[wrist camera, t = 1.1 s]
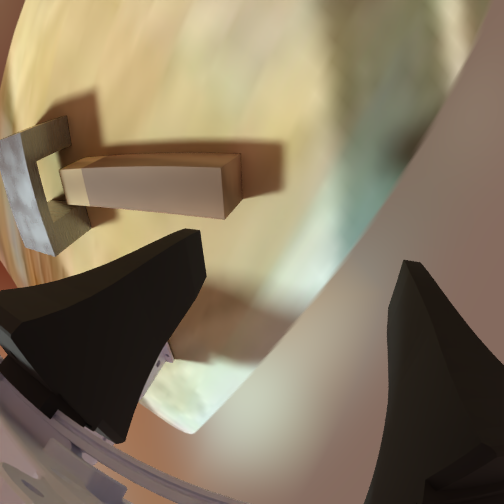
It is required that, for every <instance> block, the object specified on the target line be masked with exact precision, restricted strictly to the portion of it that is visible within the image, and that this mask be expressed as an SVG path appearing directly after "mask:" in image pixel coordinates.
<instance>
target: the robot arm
mask: <svg viewBox="0 0 504 504" xmlns="http://www.w3.org/2000/svg"><path fill="white" fill-rule="evenodd" d="M205 279H206V269H205V262H204V255H203V248H202V241H201V234H200V230H194V229H186V228H185V229H182V230H179V231H177V232H174V233H172V234H170V235H167V236H165V237H163V238H161V239H159V240H157V241H155V242H153V243H150V244H148V245H146V246H144V247H142V248H140V249H138V250H136V251H134V252H132V253H129V254H127V255H125V256H123V257H121V258H118V259H116V260H114V261H112V262H110V263H107V264H105V265H102V266H100V267H97V268H94V269H92V270H89V271H86V272H84V273H81V274H77V275H74V276H71V277H67V278H64V279H61V280H57V281H53V282H49V283H45V284H40V285H35V286H30V287H24V288H16V289H8V290H1V291H0V345H1V346H2V348H3V349H4V350H5V352H6V353H7V354H8V355H7V357H6V358H5V359H3V358H2V357H1V356H0V504H133V503H131V502H129V501H127V500H126V499H124V498H123V496H124V494H125V493H126V491H127V487H126V486H124V485H122V484H121V483H119V482H118V481H116V480H114V479H113V478H111V477H109V476H108V475H106V474H105V473H103V472H101V471H100V470H98V469H96V468H95V467H93V465H95V464H96V463H97V461H99V462H100V463H102V464H104V465H105V466H107V467H109V468H110V469H112V470H113V471H115V472H117V473H118V474H120V475H122V476H124V477H125V478H127V479H129V480H131V481H133V482H134V483H136V484H138V485H140V486H142V487H144V488H146V489H148V490H150V491H152V492H154V493H156V494H158V495H160V496H162V497H165V498H167V499H169V500H171V501H173V502H176V503H178V504H250V503H247V502H243V501H240V500H236V499H233V498H230V497H227V496H223V495H220V494H217V493H214V492H211V491H209V490H206V489H203V488H200V487H198V486H195V485H192V484H190V483H187V482H185V481H182V480H180V479H178V478H175V477H173V476H171V475H168V474H166V473H164V472H162V471H160V470H157V469H155V468H153V467H151V466H149V465H147V464H145V463H143V462H141V461H139V460H137V459H135V458H133V457H132V456H130V455H128V454H126V453H124V452H122V451H121V450H119V449H117V448H115V447H114V446H113V445H114V444H119V443H123V442H124V441H125V440H126V436H127V433H128V430H129V427H130V423H131V420H132V417H133V414H134V411H135V409H136V406H137V403H138V401H139V400H140V399H141V398H142V397H143V396H144V395H145V393H146V392H147V390H148V388H149V387H150V385H151V384H152V382H153V381H154V379H155V377H156V376H157V374H158V373H159V371H160V370H161V368H162V366H163V365H164V363H165V362H166V361H167V362H170V363H173V361H174V358H173V355H172V353H171V350H170V347H169V344H168V340H169V338H170V337H171V335H172V334H173V332H174V331H175V329H176V328H177V326H178V325H179V323H180V322H181V320H182V319H183V317H184V316H185V314H186V313H187V311H188V310H189V308H190V307H191V305H192V304H193V302H194V301H195V299H196V297H197V295H198V293H199V291H200V289H201V287H202V285H203V283H204V281H205ZM387 345H388V378H389V391H388V405H387V413H386V419H385V426H384V432H383V437H382V442H381V447H380V451H379V456H378V460H377V464H376V467H375V471H374V475H373V478H372V482H371V485H370V487H369V491H368V493H367V496H366V499H365V502H364V504H504V365H503V364H502V363H501V362H500V361H499V360H498V359H497V358H496V357H495V356H494V355H493V354H492V352H491V351H490V350H489V349H488V348H487V347H486V346H485V345H484V343H482V341H481V340H480V339H479V338H478V337H477V335H476V334H475V333H474V332H473V331H472V329H471V328H470V327H469V326H468V324H467V323H466V322H465V321H464V319H463V318H462V317H461V316H460V314H459V313H458V312H457V310H456V309H455V308H454V306H453V305H452V304H451V302H450V301H449V300H448V298H447V297H446V296H445V294H444V293H443V291H442V290H441V289H440V288H439V286H438V285H437V283H436V282H435V281H434V279H433V278H432V277H431V275H430V274H429V272H428V271H427V270H426V269H425V267H424V266H423V265H422V264H421V263H420V262H414V261H408V260H403V263H402V267H401V270H400V273H399V276H398V280H397V283H396V286H395V289H394V292H393V295H392V298H391V301H390V304H389V307H388V324H387Z"/></svg>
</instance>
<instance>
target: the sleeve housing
mask: <svg viewBox="0 0 504 504" xmlns="http://www.w3.org/2000/svg"><path fill="white" fill-rule="evenodd" d="M69 146H71V140H70V134H69V128H68V122H67V116H63V117H60V118H57V119H53V120H50V121H47V122H44V123H41V124H38V125H35V126H32V127H30V128H27V129H25V130H22V131H20V132H17V133H15V134H13V135H10V136H8V137H6V138H3V139H1V140H0V171H1V175H2V179H3V182H4V186H5V189H6V193H7V196H8V200H9V203H10V206H11V209H12V212H13V215H14V218H15V221H16V224H17V227H18V229H19V232H20V235H21V237H22V240H23V243H24V245H25V247H26V248H29V249H32V250H36V251H39V252H42V253H45V254H48V255H52V256H55V257H56V256H57V255H58V254H59V253H61V252H62V251H63V250H64V249H66V248H67V247H68V246H69V245H71V244H72V243H73V242H74V241H76V240H77V239H78V238H80V237H81V236H82V235H83V234H85V233H86V232H87V231H89V230H90V229H91V225H90V221H89V218H88V214H87V211H86V207H85V206H81V205H68V204H67V201H57V200H50V201H49V202H47V201H46V197H45V194H44V190H43V187H42V183H41V179H40V175H39V171H38V167H37V162H36V161H38V160H40V159H42V158H44V157H46V156H48V155H50V154H53V153H55V152H57V151H59V150H62V149H64V148H66V147H69Z"/></svg>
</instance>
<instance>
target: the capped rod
mask: <svg viewBox="0 0 504 504" xmlns="http://www.w3.org/2000/svg"><path fill="white" fill-rule="evenodd" d="M59 173H60V177H61V181H62V185H63V189H64V193H65V197H66V201H67V204H68V205H81V206H93V207H105V208H116V209H127V210H138V211H148V212H159V213H168V214H178V215H187V216H196V217H205V218H214V219H223V220H225V219H226V218H227V216H228V215H229V214H230V213H231V212H232V211H233V210H234V208H235V207H236V206H237V205H238V204H239V203H240V202H241V200H242V199H243V196H242V174H241V154H236V153H144V154H123V155H108V156H95V157H84V158H82V159H80V160H78V161H76V162H74V163H72V164H70V165H68V166H66V167H64V168H62V169H60V170H59Z"/></svg>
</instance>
